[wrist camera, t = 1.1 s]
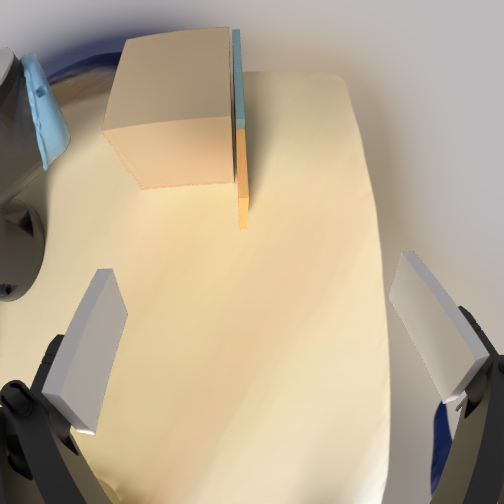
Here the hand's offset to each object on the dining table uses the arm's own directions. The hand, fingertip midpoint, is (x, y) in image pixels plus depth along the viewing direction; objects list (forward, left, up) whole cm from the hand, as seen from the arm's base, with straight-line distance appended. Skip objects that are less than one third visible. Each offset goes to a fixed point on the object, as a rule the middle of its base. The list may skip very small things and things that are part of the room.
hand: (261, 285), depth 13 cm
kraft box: (-14, +19, -22) cm, 32 cm away
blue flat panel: (-7, +18, -21) cm, 28 cm away
